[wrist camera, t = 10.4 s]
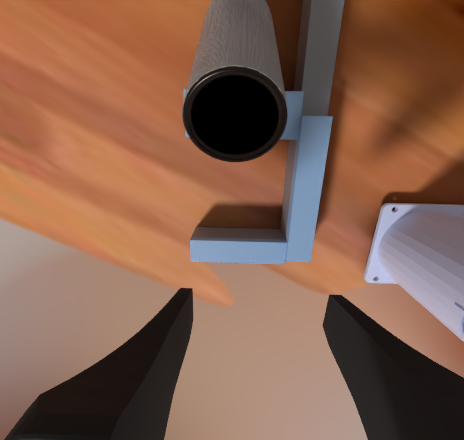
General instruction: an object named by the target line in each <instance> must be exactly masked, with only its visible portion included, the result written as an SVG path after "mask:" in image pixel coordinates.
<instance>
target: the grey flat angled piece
mask: <svg viewBox="0 0 464 440" xmlns="http://www.w3.org/2000/svg"><path fill="white" fill-rule="evenodd" d="M344 1H345V0H303V2H302V12H301V22H300V32H299V42H298V53H297V63H296V73H295V83H294V91H304V96H303V105H302V113H301V116H328V109H329V102H330V96H331V89H332V82H333V75H334V68H335V62H336V55H337V48H338V41H339V35H340V28H341V21H342V14H343V7H344ZM280 140H288V139H280ZM295 148H296V140H289V144H288V154H287V164H286V174H285V184H284V194H283V204H282V214H281V224H280V229H264V228H226V227H196V228H195V231H194V233H193V235H192V237H200V238H237V239H275V240H285V239H286V230H287V221H288V212H289V203H290V194H291V185H292V175H293V166H294V157H295ZM285 261H286V260H285Z"/></svg>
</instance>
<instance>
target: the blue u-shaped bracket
mask: <svg viewBox="0 0 464 440" xmlns="http://www.w3.org/2000/svg"><path fill="white" fill-rule="evenodd" d="M186 90H187V89H183V94H184V98H185V94H186ZM285 95H286V101H287V108H288V119H287V125H286V128H285V131H284V133H283V135H282V137H281V138H280V139H288V140H296V148H295V157H294V166H293V175H292V185H291V194H290V203H289V212H288V221H287V230H286V239H285V240H275V239H237V238H200V237H191V239H190V252H191V262H225V263H226V262H227V263H261V264H285V260H286V261H292V262H310V261H311V255H312V248H313V242H314V235H315V229H316V222H317V216H318V209H319V203H320V197H321V190H322V184H323V177H324V171H325V164H326V158H327V151H328V145H329V139H330V132H331V126H332V119H333V116H301V113H302V105H303V96H304V91H285ZM185 137H189V136H188V134H187V132H186V130H185Z"/></svg>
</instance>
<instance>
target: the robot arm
mask: <svg viewBox="0 0 464 440" xmlns="http://www.w3.org/2000/svg"><path fill="white" fill-rule="evenodd" d="M393 207H395V209H394V210H393V211H392V208H393ZM374 277H376V278H375V279H373V278H374ZM364 280H365V281H366V282H368V283H395V284H399V285H400V286H401V287H402V288H403V289H405V290H406V291H407V292H408V293H409V294H410V295H411V296H413V297H414V298H415V299H416V300H417V301H418V302H419V303H420V304H422V305H423V306H424V307H425V308H426V309H427V310H428V311H429V312H431V313H432V314H433V315H434V316H435V317H436V318H437V319H438V320H440V321H441V322H442V323H443V324H444V325H445V326H446V327H448V328H449V329H450V330H451V331H452V332H453V333H454V334H455V335H457V336H458V337H459V338H460V339H461V340H462V341H463V342H464V205H454V204H414V203H385V204H383V205H382V207H381V210H380V214H379V218H378V222H377V226H376V230H375V234H374V238H373V242H372V246H371V250H370V254H369V258H368V262H367V266H366V270H365V274H364ZM192 323H193V293H192V289H191V288H180V289H179V290H178V291H177V293H176V294H175V295H174V296H173V297H172V298H171V300H170V301H169V302H168V303H167V304H166V305H165V306H164V307H163V308H162V310H160V312H159V313H158V314H157V315H156V316H155V317H154V318H153V319H152V320H151V321H150V322H148V323H147V324H146V325H145V326H144V327H143V328H142V329H141V330H140V331H139V332H138V333H136V334H135V335H134V336H133V337H132V338H130V339H129V340H128V341H127V342H125V343H124V344H123V345H122V346H120V347H119V348H117V349H116V350H115V351H113V352H112V353H110V354H109V355H108V356H106V357H105V358H103V359H102V360H100V361H99V362H97V363H96V364H94V365H93V366H91V367H89V368H88V369H86V370H84V371H83V372H81V373H79V374H78V375H76V376H74V377H72V378H71V379H69V380H67V381H65V382H63V383H61V384H59V385H57V386H56V387H54V388H52V389H50V390H48V391H46V392H44V393H42V394H40V395H39V396H38V397H37V399H36V400H35V401H34V402H33V403H32V404H31V406H30V407H29V408H28V409H27V411H26V412H25V413H24V414H23V416H22V417H21V418H20V420H19V421H18V422H17V424H16V425H15V426H14V428H13V429H12V430H11V431H10V433H9V434H8V435H7V437H6V438H5V439H4V440H164V437H165V431H166V427H167V421H168V417H169V412H170V407H171V403H172V398H173V394H174V390H175V386H176V383H177V379H178V376H179V373H180V369H181V366H182V363H183V359H184V356H185V353H186V349H187V346H188V343H189V339H190V334H191V329H192ZM323 328H324V331H325V335H326V338H327V341H328V344H329V346H330V349H331V351H332V353H333V355H334V358H335V359H336V362H337V364H338V366H339V368H340V371H341V373H342V375H343V377H344V379H345V381H346V384H347V386H348V388H349V390H350V392H351V395H352V397H353V399H354V402H355V404H356V407H357V410H358V412H359V415H360V418H361V421H362V424H363V426H364V429H365V432H366V435H367V438H368V440H464V378H463V377H461V376H459V375H457V374H456V373H454V372H452V371H450V370H448V369H447V368H445V367H443V366H441V365H439V364H438V363H436V362H434V361H432V360H431V359H429V358H428V357H426V356H424V355H423V354H421V353H420V352H418V351H417V350H415V349H413V348H412V347H410V346H409V345H407V344H406V343H404V342H403V341H401V340H400V339H398V338H397V337H395V336H394V335H393V334H391V333H390V332H389V331H387V330H386V329H385V328H383V327H382V326H380V325H379V324H378V323H376V322H375V321H374V320H373V319H371V318H370V317H369V316H367V315H366V314H365V313H364V312H362V311H361V310H360V309H359V308H357V307H356V306H355V305H353V304H352V303H351V302H350V301H348V300H347V299H346V298H344V297H343V296H342V295H329V299H328V303H327V308H326V313H325V318H324V322H323Z"/></svg>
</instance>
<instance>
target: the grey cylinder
mask: <svg viewBox="0 0 464 440" xmlns="http://www.w3.org/2000/svg"><path fill="white" fill-rule="evenodd" d="M182 118H183V123H184V127H185V130H186V132H187V134H188V136H189V138H190V139H191V140H192V142H193V143H194V144H195V145H196V146H197V147H198V148H199V149H200V150H201V151H203V152H204V153H206V154H207V155H209V156H211V157H213V158H216V159H218V160H222V161H227V162H244V161H249V160H253V159H255V158H258V157H260V156H262V155H264V154H265V153H267V152H268V151H270V150H271V149H272V148H273V147H274V146H275V145H276V144H277V143H278V141H279V140H280V138H281V137H282V135H283V133H284V131H285V128H286V125H287V119H288V108H287V101H286V95H285V89H284V84H283V78H282V72H281V66H280V61H279V55H278V49H277V43H276V37H275V32H274V26H273V20H272V15H271V12H270V9H269V6H268V4H267V2H266V0H212V2H211V4H210V6H209V8H208V10H207V13H206V17H205V20H204V24H203V28H202V32H201V36H200V40H199V44H198V47H197V51H196V55H195V59H194V63H193V67H192V70H191V74H190V78H189V82H188V86H187V90H186V94H185V98H184V102H183V108H182Z"/></svg>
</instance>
